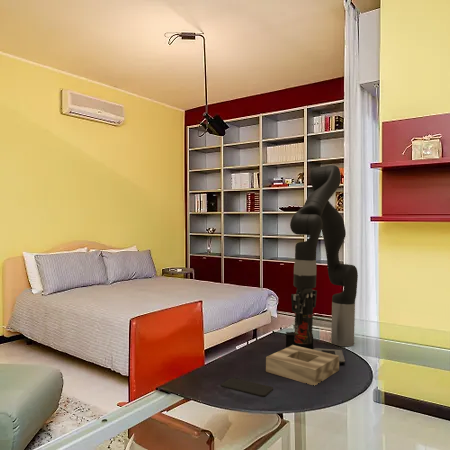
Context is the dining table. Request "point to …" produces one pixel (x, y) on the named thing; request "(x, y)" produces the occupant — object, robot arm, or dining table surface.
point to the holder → (302, 364)
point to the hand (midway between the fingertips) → (303, 322)
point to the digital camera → (291, 342)
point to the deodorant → (305, 324)
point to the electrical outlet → (335, 352)
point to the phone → (247, 387)
